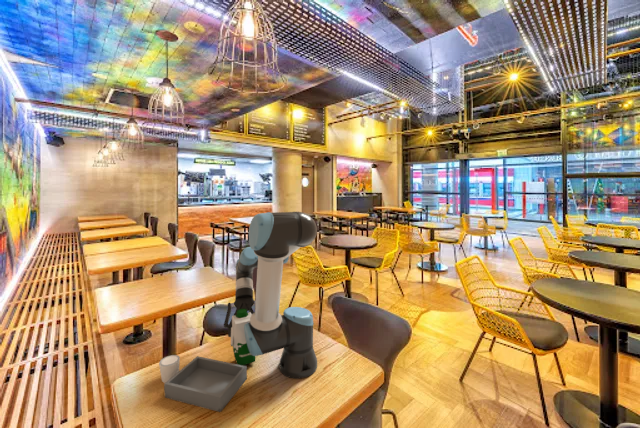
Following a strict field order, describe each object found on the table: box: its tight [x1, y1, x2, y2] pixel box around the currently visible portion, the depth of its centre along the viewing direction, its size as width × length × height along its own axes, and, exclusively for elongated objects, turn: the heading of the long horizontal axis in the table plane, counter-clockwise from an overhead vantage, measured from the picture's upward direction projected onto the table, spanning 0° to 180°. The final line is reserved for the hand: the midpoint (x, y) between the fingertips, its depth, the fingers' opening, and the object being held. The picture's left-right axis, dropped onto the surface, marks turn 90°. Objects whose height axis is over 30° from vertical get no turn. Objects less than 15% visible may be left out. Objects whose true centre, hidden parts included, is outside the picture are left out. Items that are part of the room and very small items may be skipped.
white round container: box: [158, 354, 181, 384], centre depth 103 cm, size 7×7×7 cm
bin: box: [163, 356, 248, 413], centre depth 98 cm, size 22×16×5 cm
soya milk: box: [231, 309, 256, 366], centre depth 111 cm, size 9×9×20 cm
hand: (244, 343), depth 108 cm, fingers closed on soya milk, 9 cm apart
